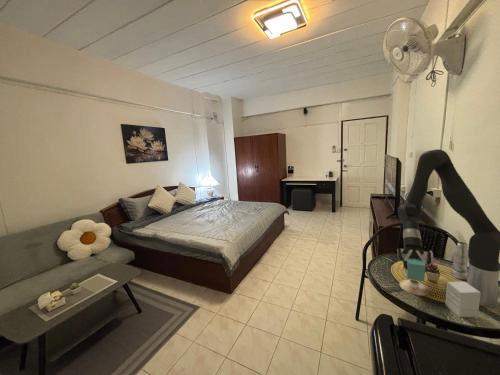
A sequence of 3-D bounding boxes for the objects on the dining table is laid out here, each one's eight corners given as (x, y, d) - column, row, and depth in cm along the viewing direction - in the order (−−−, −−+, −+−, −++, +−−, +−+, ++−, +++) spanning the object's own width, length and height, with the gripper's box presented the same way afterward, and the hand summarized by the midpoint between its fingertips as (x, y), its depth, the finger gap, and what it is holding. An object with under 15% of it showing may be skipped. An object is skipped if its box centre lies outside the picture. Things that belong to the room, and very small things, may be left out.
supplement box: (462, 306, 94) (465, 281, 92) (478, 319, 87) (481, 292, 84) (444, 306, 95) (446, 281, 92) (458, 319, 87) (461, 292, 85)
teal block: (404, 271, 110) (405, 256, 108) (420, 274, 107) (422, 258, 105) (407, 278, 104) (408, 263, 103) (424, 281, 101) (425, 265, 99)
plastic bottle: (449, 278, 112) (453, 244, 108) (450, 273, 117) (454, 239, 113) (467, 283, 107) (471, 247, 104) (467, 277, 112) (471, 242, 108)
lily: (408, 268, 125) (415, 260, 119) (412, 254, 132) (418, 245, 126) (433, 280, 119) (442, 271, 113) (435, 264, 126) (444, 255, 119)
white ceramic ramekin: (418, 286, 107) (418, 281, 106) (418, 290, 104) (418, 284, 103) (409, 284, 109) (409, 278, 108) (409, 288, 106) (409, 282, 106)
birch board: (428, 286, 108) (428, 284, 107) (429, 300, 98) (430, 298, 98) (399, 279, 115) (400, 277, 115) (398, 291, 106) (398, 289, 105)
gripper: (396, 234, 112) (399, 266, 104) (431, 238, 105) (436, 272, 97) (394, 239, 117) (396, 269, 109) (427, 243, 111) (432, 275, 103)
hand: (415, 270), depth 103 cm, fingers closed on teal block, 6 cm apart
